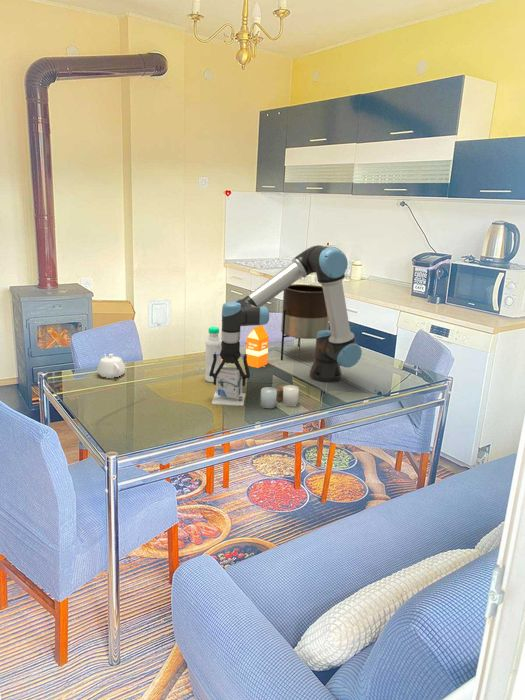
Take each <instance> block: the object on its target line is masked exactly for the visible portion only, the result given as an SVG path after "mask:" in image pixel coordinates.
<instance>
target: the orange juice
mask: <svg viewBox="0 0 525 700" xmlns="http://www.w3.org/2000/svg"><path fill="white" fill-rule="evenodd" d="M268 352H269V334H268V333H267V331H266V328H265V327H264V325H260V326H259V325H257V326H255V327H253V328H252V329H251V331H250V332H249V334H248V335H247V336H246V346H245V354H247V363H248V367H252V368H257V369H259V368H261V367H263V366H266V365H268V357H269V356H268V355H269V353H268Z"/></svg>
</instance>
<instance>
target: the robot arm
mask: <svg viewBox="0 0 525 700" xmlns="http://www.w3.org/2000/svg"><path fill="white" fill-rule="evenodd" d="M348 264H349V263H348V258H347V256H346V254H345V253H344V252H343V251H342V250H340V249H338V248H336V247H333V246H332V247H329V246H324V245H314V246H310V247H309V248H306V249H305V250H304V251H302V252H301V253H299V254H298V255H296V256H295V257H293V259H291V262H290V264H288V265H287V266H286V267H284V268H282V270H280V271H278V272H277V273H276V274H275V275H273V276H272V277H270V278H269V279H268V280H267V281H265V282H264V283H263V284H260V286H258V287H257V288H256V289H254V290H252V291H251V292H250V293H249V294H247V295H246V296H245V297H243V298H237V299H236V300H234V301H233V302H232V301H228V302H227V301H226V302H224V303H223V304H222V309H221V339H220V341H221V352H220V353H216V352H215V353H214V354H213V358H214V360H213V363H212V367H211V370H210V374H209V376H212V377H213V378H214V382H213V385H214V386H215V392H216V393H218V374H219V372H220V370H221V369H222V367H223V366H225V364H234V365H235V367H236V368H237V369H238V370H239V373H240V375H241V383H240V395H242V393H243V388H244V387H245V386H246V380H247V379H250V377H251V373H250V369H249V366H248V363H247V354H246V353H241V351H240V349H241V342H240V341H241V327H246V326H247V327H249V326H261V325H263V326H265V325H267V324H268V323H269V321H270V311H269V309H268V308H267V307H266V306H264V305H266V304H268V303H269V302H270V301H271V300H273V299H274V298H275V297H277V296H278V295H279V294H280V293H282V292H284V290H285V289H286V288H287V287H289V286H290V285H294V283H296V282H297V281H298V280H299V279H301V278H306V277H308V276H309V275H310V274H314V273H316V274H315V275H316V279H317V283H319V284H320V286H322V287H323V293H324V298H325V304H326V309H327V315H328V327H329V326H330V330H329V329H328V330H321V331H319V332H318V333H317V336H316V339H315V352H314V353H315V354H314V361H313V364H312V365H311V368H310V371H309V377H310V378H311V379H313V380H315V381H317V382H322V383H323V382H324V383H334V381H336V382H339V381H340V379H342V376H343V375H342V370H341V367H343V368H351V367H354V366H355V365H357V363H359V361H360V360H361V358H362V347H361V346H360V345H359V344H358V343H356V337H355V334H354V332H352V331H351V327H350V322H349V316H348V309H347V305H346V297H345V292H344V291H345V290H344V285H343V280H344V279H345V277H346V276H345V274H346V271H347V269H348V267H349V266H348ZM219 356H221V364H220V366H219V367H218V369H217V371H216V372H215V373H213V371H214V368H215V364H216V361H217V358H219ZM240 358H241V360H242V361H243V367H244V370H245V371H244V370H243V368H242V366H241V364H240V361H239V359H240ZM338 380H339V381H338Z"/></svg>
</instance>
